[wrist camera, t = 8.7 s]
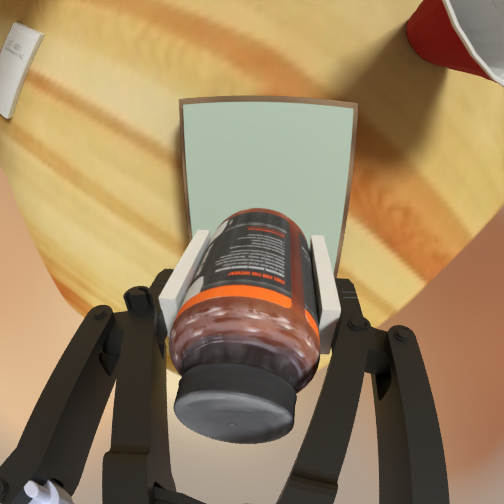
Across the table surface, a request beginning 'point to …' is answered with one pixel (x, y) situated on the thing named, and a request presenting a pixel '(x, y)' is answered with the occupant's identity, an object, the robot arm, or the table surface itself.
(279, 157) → the walnut stand
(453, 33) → the plastic cup
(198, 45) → the table surface
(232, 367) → the supplement bottle
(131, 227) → the table surface
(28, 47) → the external hard drive
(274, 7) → the table surface
